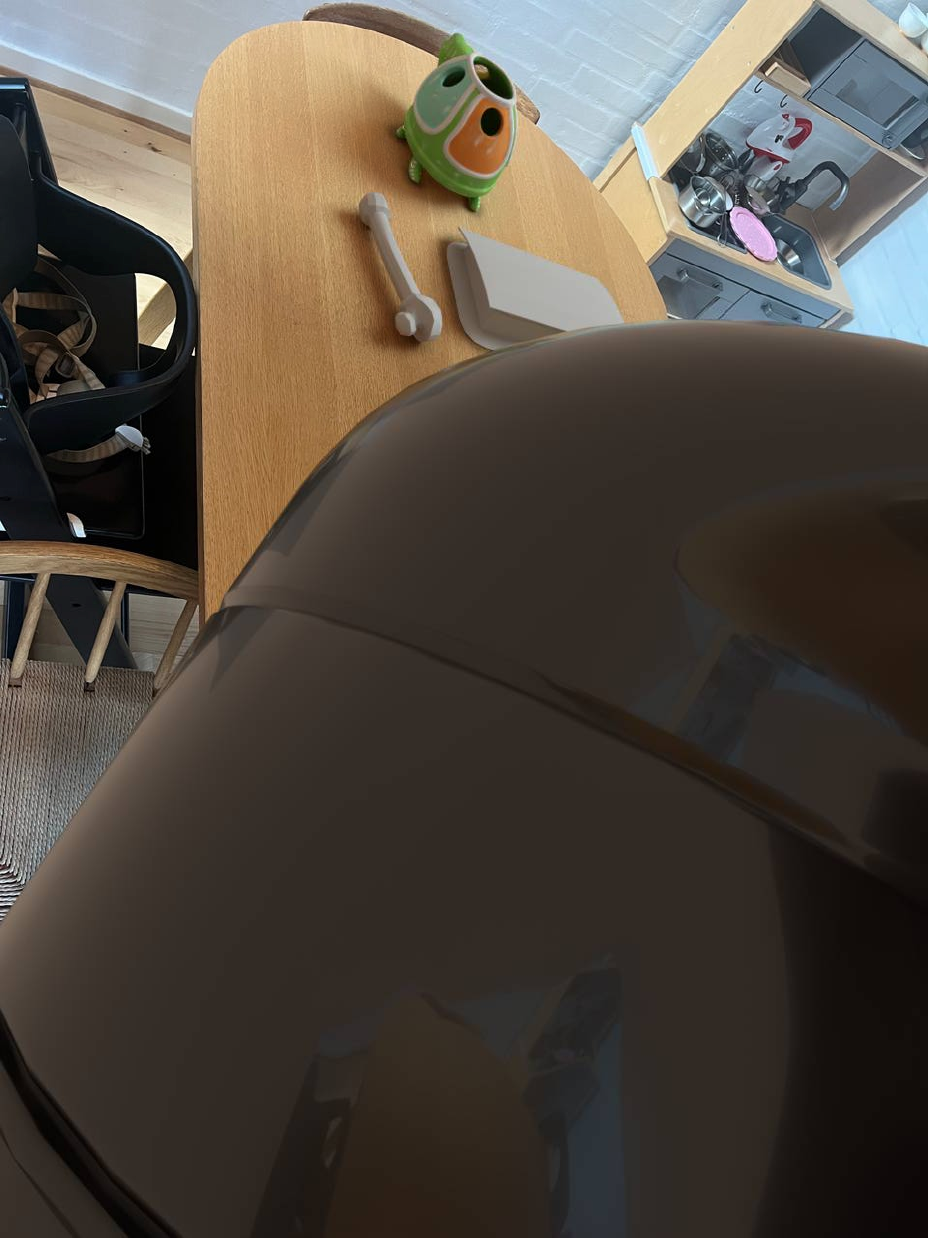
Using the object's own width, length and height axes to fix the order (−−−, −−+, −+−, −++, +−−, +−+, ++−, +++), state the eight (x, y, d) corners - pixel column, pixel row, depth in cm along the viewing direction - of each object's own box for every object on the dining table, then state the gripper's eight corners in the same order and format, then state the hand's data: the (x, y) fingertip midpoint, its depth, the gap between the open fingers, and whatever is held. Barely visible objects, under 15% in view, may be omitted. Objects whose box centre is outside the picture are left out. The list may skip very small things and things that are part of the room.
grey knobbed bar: (435, 354, 79) (454, 329, 76) (391, 347, 76) (408, 320, 73) (394, 219, 84) (409, 191, 81) (351, 208, 81) (365, 178, 78)
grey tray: (625, 387, 94) (647, 366, 91) (464, 342, 82) (483, 316, 79) (596, 290, 99) (616, 268, 96) (442, 234, 87) (459, 207, 84)
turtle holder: (466, 122, 100) (517, 32, 90) (494, 226, 93) (552, 140, 84) (380, 84, 93) (425, -18, 84) (403, 193, 87) (455, 95, 78)
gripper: (839, 1403, 16) (770, 1228, 31) (748, 756, 23) (727, 867, 37) (489, 1352, 18) (582, 1210, 33) (498, 767, 24) (572, 868, 39)
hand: (659, 1026), depth 35 cm, fingers closed on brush, 2 cm apart
